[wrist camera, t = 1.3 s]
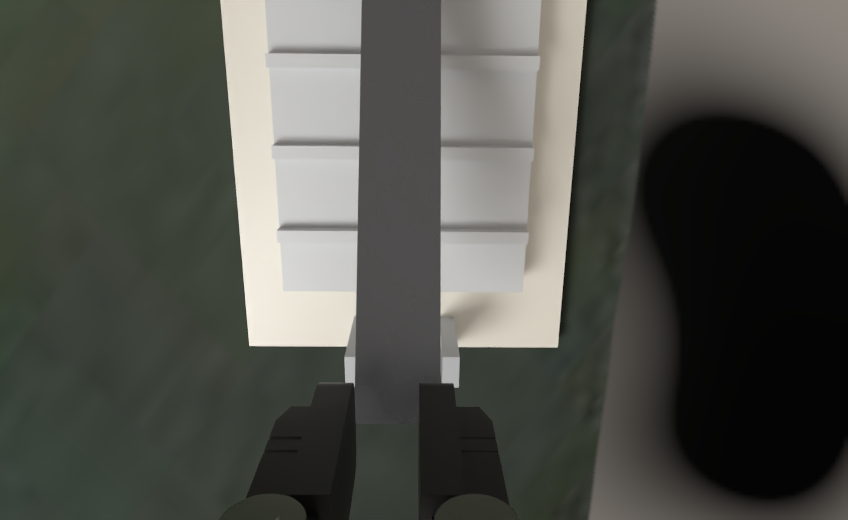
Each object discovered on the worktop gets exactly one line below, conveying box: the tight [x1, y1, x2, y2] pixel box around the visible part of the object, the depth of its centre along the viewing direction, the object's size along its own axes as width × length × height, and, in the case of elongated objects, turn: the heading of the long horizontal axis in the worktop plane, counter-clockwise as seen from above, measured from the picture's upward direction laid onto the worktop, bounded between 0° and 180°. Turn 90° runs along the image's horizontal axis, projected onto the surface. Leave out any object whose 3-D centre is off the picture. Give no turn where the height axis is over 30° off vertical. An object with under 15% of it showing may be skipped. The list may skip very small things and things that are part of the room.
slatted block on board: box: [220, 0, 587, 387], centre depth 29 cm, size 22×17×6 cm
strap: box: [355, 0, 441, 424], centre depth 24 cm, size 21×3×1 cm, turn 1°
